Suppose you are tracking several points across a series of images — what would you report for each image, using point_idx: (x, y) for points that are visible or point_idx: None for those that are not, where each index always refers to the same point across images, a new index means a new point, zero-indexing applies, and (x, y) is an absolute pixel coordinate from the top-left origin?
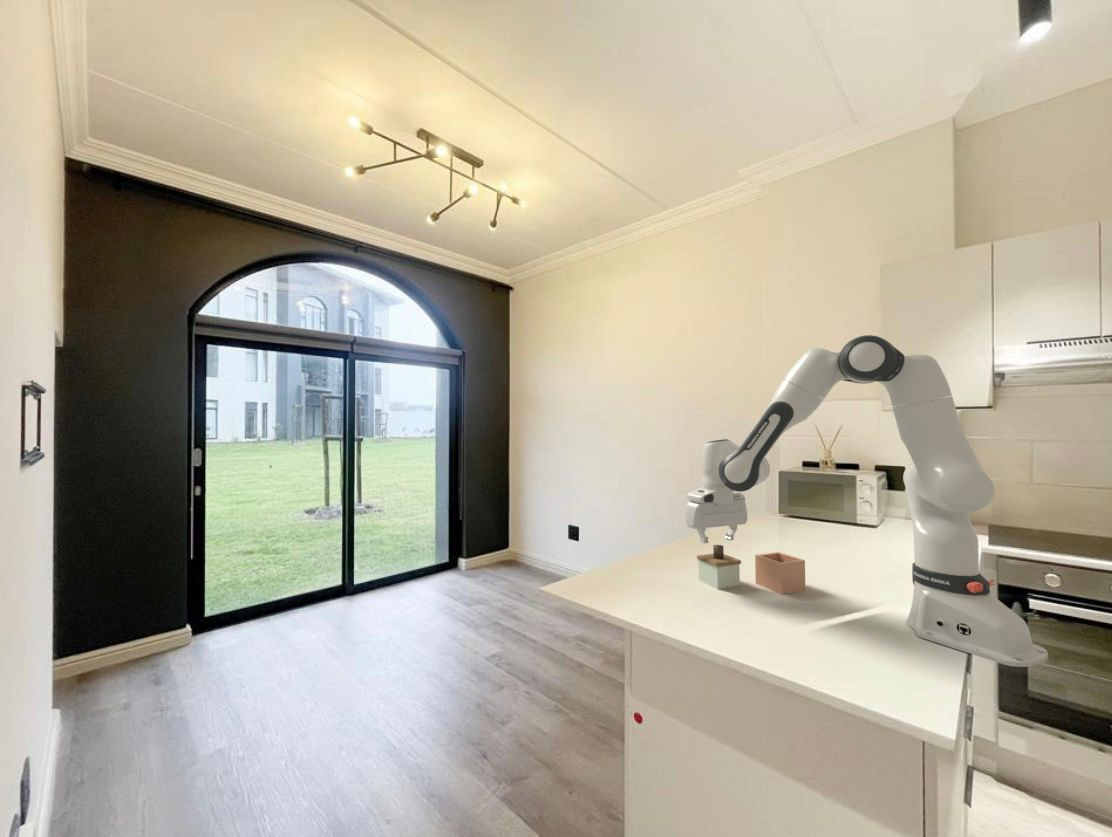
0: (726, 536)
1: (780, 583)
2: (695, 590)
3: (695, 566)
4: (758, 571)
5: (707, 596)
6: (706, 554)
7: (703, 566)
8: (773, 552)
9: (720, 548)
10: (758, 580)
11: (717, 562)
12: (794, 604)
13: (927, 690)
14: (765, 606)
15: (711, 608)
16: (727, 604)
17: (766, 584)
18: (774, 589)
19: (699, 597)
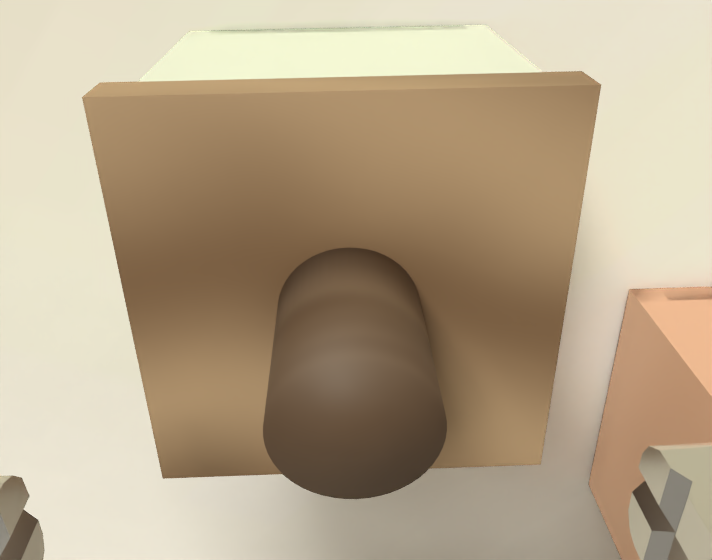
0: (689, 489)
1: (622, 556)
2: (55, 180)
3: None
4: (683, 405)
5: (93, 316)
6: (292, 98)
7: None
8: None
9: (331, 479)
10: (646, 350)
11: (200, 444)
12: (558, 555)
13: None
14: (372, 533)
15: (10, 471)
16: (157, 456)
17: (629, 414)
18: (609, 464)
19: (15, 312)
